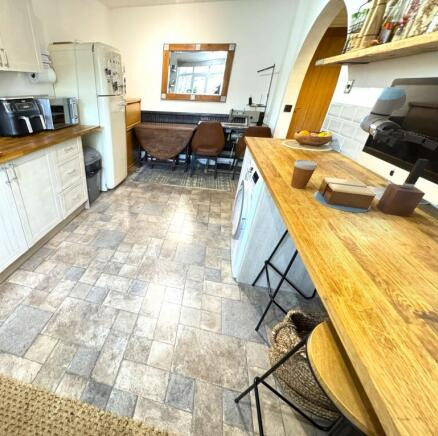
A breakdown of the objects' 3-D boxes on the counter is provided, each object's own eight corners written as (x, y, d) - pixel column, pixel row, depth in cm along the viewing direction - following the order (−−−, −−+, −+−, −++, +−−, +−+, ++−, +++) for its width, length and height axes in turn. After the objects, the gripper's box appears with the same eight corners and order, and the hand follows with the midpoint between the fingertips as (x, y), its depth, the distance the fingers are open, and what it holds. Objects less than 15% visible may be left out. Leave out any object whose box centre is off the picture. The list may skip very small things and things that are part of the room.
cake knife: (396, 211, 96) (428, 159, 85) (398, 213, 94) (431, 160, 83) (386, 209, 97) (416, 158, 86) (388, 211, 95) (419, 159, 84)
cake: (358, 195, 108) (367, 179, 104) (379, 216, 92) (389, 198, 88) (308, 189, 114) (314, 174, 110) (319, 207, 97) (327, 190, 93)
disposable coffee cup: (310, 191, 111) (320, 166, 105) (287, 188, 114) (296, 163, 108) (307, 184, 119) (316, 160, 113) (286, 181, 122) (293, 158, 116)
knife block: (400, 209, 97) (414, 186, 92) (409, 217, 91) (425, 193, 86) (376, 205, 99) (388, 183, 94) (384, 213, 94) (398, 190, 89)
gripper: (411, 141, 106) (448, 158, 89) (349, 136, 111) (372, 151, 94) (423, 123, 102) (464, 138, 85) (357, 118, 106) (383, 131, 89)
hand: (416, 145), depth 89 cm, fingers open, 13 cm apart
